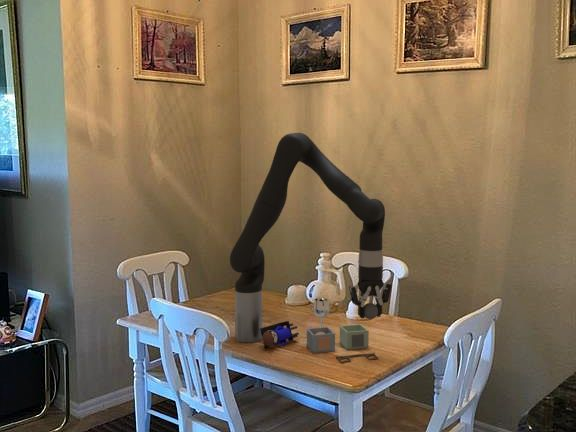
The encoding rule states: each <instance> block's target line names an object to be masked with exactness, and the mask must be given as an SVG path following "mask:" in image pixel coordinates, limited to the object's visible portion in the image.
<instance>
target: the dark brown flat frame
mask: <svg viewBox="0 0 576 432" xmlns="http://www.w3.org/2000/svg"><path fill="white" fill-rule="evenodd" d="M359 357H361V358H363V357H365V358H366V359H367V361H374V360H375V361H376V360H379V359H380V358H379V356H377V355H376V353H375V352H370V353H360V354H349V355H338V356H335V359H336V360H337V361H339V363H340V364H344V363H345V364H346V363H352V360H351V358H352V359H353V358H359ZM369 357H371V358H369Z"/></svg>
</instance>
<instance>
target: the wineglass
mask: <svg viewBox="0 0 576 432" xmlns="http://www.w3.org/2000/svg"><path fill="white" fill-rule="evenodd" d="M312 305H313V306H312V311H313V314H314V315H315V316H316V317H318V318H319V323H320V327H323V318H325V317H327V316H328V315H329V313H330V304H329V299H327V298H324V297H317V298H315V299H314V301H313V304H312Z"/></svg>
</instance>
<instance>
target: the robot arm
mask: <svg viewBox="0 0 576 432" xmlns="http://www.w3.org/2000/svg"><path fill="white" fill-rule="evenodd" d="M299 162H300V163H303V165H305V166H307V167H308V168H310V169H311V170H312V171H314V173H315V174H316V175H317V176H318V178H320V180H321V181H322V183H323V184H324V186H326V188H327V189H328V190H329V191H330V192H331V193H332V194H333V195H334V196H336V198H338V199H339V200H340V201H341V202H343V203H344V204H345V205H346V207H347V208H349V210H350V211H351V212H352V213H353V214H354V215H355V217H356V218H357V219H359V220H360V221H362V228H361V231H360V234H359V247H358V248H359V252H358V259H357V260H358V261H357V263H358V264H357V265H358V268H357V269H358V282H357V284H356V285H349V286H348V290H349V294H350V299H351V302H352V304H353V305H355V306H357V316H359V318H361V319H365V317H364V313H365V307H364V305H365V304H366V301H367V300H368V298H369V297H371V296H372V297H373V298H374V299H375V302H376V304H375V305H376V306H377V308H378V314H377V316H376V318H379V317H381V315H382V314H383V305H384V304H386V303H387V304H388V302H389V298H390V296H391V295H390V294H391V292H392V291H391V290H392V286H393V285H392V284H391V283H389V282H384V281H383V278H384V253H383V232H384V225H385V220H386V219H385V218H386V210H385V205H384V203H383V201H381V200H380V199H378V198H377V199H376V198H370V197H368V196H367V195H366V194H365V193H364V192H363V191H362V188H361V186H359V184H358V183H356V182H355V181H354V180H353V179H352V178H351V177H350V176H348V175H347V174H345V173H344V172H343V171H342V170H341V169H340V168H339V167H338V166H336V165H335V164H334V163H333V162H332V161H331V160H330V159H329V158H328V156H326V155H325V154H324V153H323V152H322V151H321V149H320V148H319V147H318V146H317V145H316V144H315V142H313V140H312V139H311V138H310V137H309V136H308V135H307V134H306V133H302V132H293V133H292V132H291V133H287V134H285V135H283V137H281V139H280V140H279V141H278V143H277V146H276V149H275V153H274V155H273V159H272V162H271V165H270V169H269V171H268V173H267V175H266V178H265V179H264V181H263V184H262V186H261V189H260V191H259V193H258V194H257V197H256V200H255V202H254V204H253V207H252V210H251V212H250V214H249V217H248V218H247V221H246V223H245V226H244V228H243V229H242V232H241V234H240V235H239V237H238V239H237V241H236V243H235V244H234V246H233V248H232V250H231V252H230V254H229V264H230V268H231V269H232V270H233V271H234V272H236V273H239V274H240V276H239V278H238V279H237V280H236V281H235V283H234V295H235V297H234V298H235V299H234V300H235V301H234V302H235V310H234V337H235V340H236V342H238V343H240V342H241V343H253V342H254V343H255V342H258V341H259V342H260V341H261V340H262V335H261V331H260V328H263V325H264V324H263V283H264V281H265V264H266V263H265V261H266V260H265V254H264V250H263V248H262V247H261V246H260V245H259V244H260V243H261V241H262V240H263V238H264V237H265V236H266V234H267V233H269V231H270V230H271V229H272V228H273V226H274V225H275V224H276V222H277V221H278V220H279V218H280V216H281V213H282V212H283V209H284V207H285V205H286V202H287V197H288V190H289V189H288V188H289V182H290V179H291V176H292V174H293V172H294V170H295V168H296V166H297V165H298V163H299ZM358 290H359V291H360V292H359V291H358ZM382 290H383V291H382ZM381 291H382V294H381ZM358 292H359V294H358ZM358 295H359V296H358Z"/></svg>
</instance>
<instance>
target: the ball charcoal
mask: <svg viewBox="0 0 576 432" xmlns="http://www.w3.org/2000/svg"><path fill="white" fill-rule="evenodd" d="M364 307H365V313H364V319H365V318H366V319H367V320H374V319H375V318H377V314H378V308H377V306H376V304H375V303H373V302H368V303H365V304H364Z"/></svg>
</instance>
